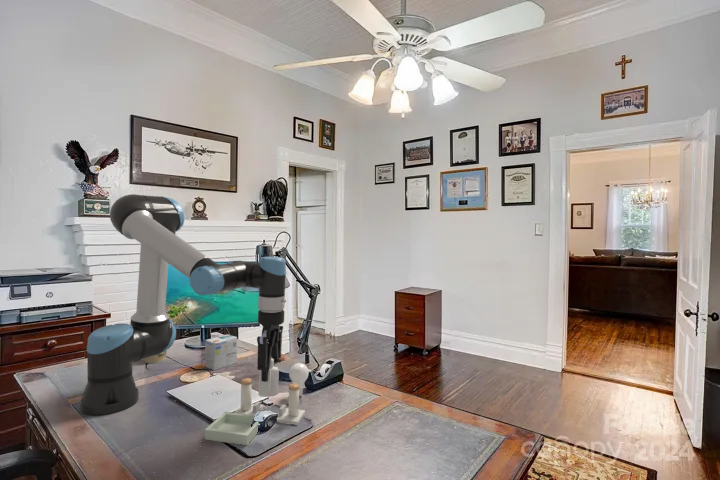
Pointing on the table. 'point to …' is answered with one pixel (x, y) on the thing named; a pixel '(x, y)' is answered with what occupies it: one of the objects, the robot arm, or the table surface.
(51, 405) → the table surface
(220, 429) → the tray
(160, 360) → the coffee cup
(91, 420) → the table surface
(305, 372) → the lightbulb
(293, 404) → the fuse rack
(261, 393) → the eye dropper bottle
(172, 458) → the table surface
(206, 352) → the light bulb box
